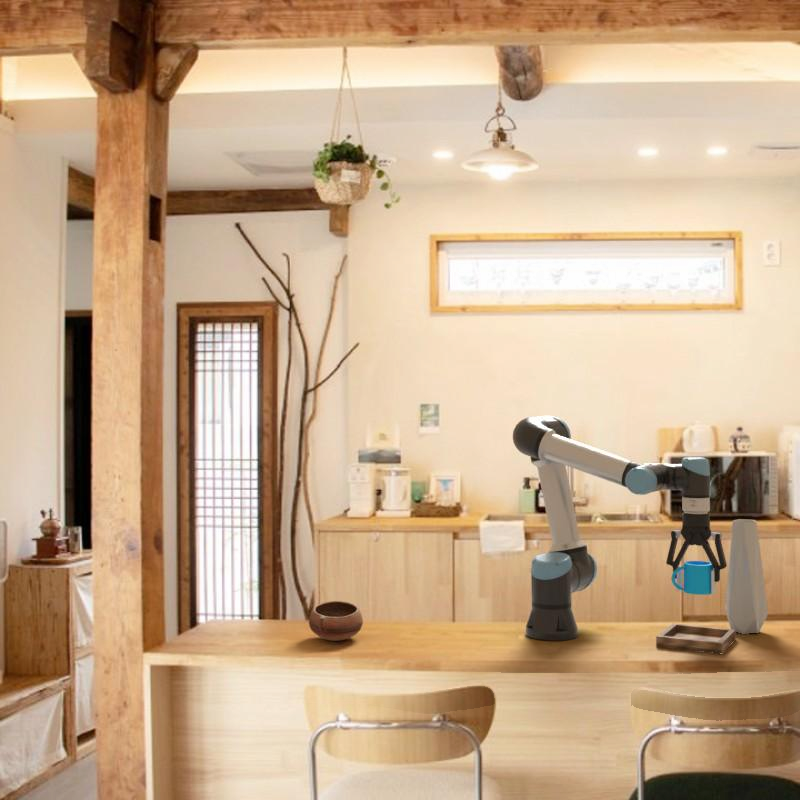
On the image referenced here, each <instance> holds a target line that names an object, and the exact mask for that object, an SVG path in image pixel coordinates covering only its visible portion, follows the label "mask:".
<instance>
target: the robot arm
mask: <svg viewBox="0 0 800 800" xmlns="http://www.w3.org/2000/svg"><path fill="white" fill-rule="evenodd" d="M571 435H572V434H571V431H570V428H569V426H568V424H567V423H566V422H565V421H564V420H562V419H561V418H560V417H556V416H552V415H542V416H529V417H525V418H524V419H522V420H519V422H517V424H515V427H514V429H513V431H512V441H513V444H514V446H515V448H516V450H518V451H519V452H520V453H521V454H522V455H525V456H528V457H530V462H531V464H532V465H534V466H535V467H536V468H537V471H538V477H539V483H540V488H541V492H542V497H543V503H544V508H545V514H546V518H547V519H546V520H547V524H548V529H549V533H550V540H551V546H550V548H549V549H548V552H546V553H545V552H544V553H540V554H538V555H536V556H534V557H533V559H532V560H531V568H530V573H531V574H530V575H531V578H530V579H531V581H530V582H531V583H530V584H531V587H530V588H531V589H530V591H531V610H530V613H529V615H528V619H527V622H526V625H525V635H526V636H527V637H529V638H530V639H531V638H532V639H534V640H535V639H536V640H540V641H542V640H543V641H558V642H559V641H567V640H573V639H576V638H577V637H578V634H579V630H578V624H577V622H576V619H575V616H574V613H573V610H572V609H573V607H572V594H573V593H576V592H581V591H583V590H585V589H587V588H588V587H589V586H590V585H592V583H594V581H595V579H596V577H597V573H598V567H597V562H596V560H595V558H594V556H593V555H591V554H590V553H589V552H588V547H587V544H586V543H585V542H584V541H583V540H581V537H580V533H579V527H578V521H577V516H576V512H575V507H574V501H573V497H572V491H571V486H570V482H569V477H568V472H567V467H570V468H572V469H574V470H577V471H580V472H584V473H586V474H589V475H591V476H594V477H598V478H600V479H603V480H605V481H607V482H611V483H613V484H616V485H619V486H621V487H624V488H627V490H629V492H630V493H632V494H635V495H640V496H642V495H648V494H650V493H651V494H652V493H654V492H659V491H660V492H661V491H681V492H682V493H681V495H682V496H681V497H682V498H681V499H682V500H681V505H682V509H681V510H682V511H683V513H681V515H682V517H681V518H682V520H681V521H682V523H681V524H682V527H681V529H680V530H677V529H674V530H672V531H671V532H670V536H671V539H670V540H671V541H670V544H669V545H670V546H669V549H668V552H667V553H668V554H667V557H666V565H668V566H671V567H672V573H673V572H674V571H675V570H676V569H677V568H679V567H680V563H681V562H682V560H683V558H684V556H685V554H686V552H687V550H688V548H689V546H695V545H696V546H699V547H700V546H702V549H703V550H704V552H705V554H706V556H707V558H708V560H709V562H711V564H712V566H713V568H714V569H713V570H712V571H711V594H710V595H715V594H716V593H717V583H719V582H720V579H721V570H724V569H725V568H727V566H728V565H727V560H726V556H725V553H724V549H723V548H724V547H723V544H722V533H721V532H715V531H713V532H712V530H711V519H710V518H711V514H710V513H709V512H710V510H711V501H710V499H711V496H710V493H711V491H710V489H711V488H710V487H711V486H710V484H711V483H710V482H711V480H710V479H711V473H710V461H709V460H708V458H705V457H699V456H697V457H695V456H694V457H693V456H692V457H691V456H687V457H683V458H682V460H681V463H660V462H659V463H658V462H646V463H643V464H641V463H639V462H635V461H632V460H630V459H627V458H623V457H621V456H619V455H615V454H613V453H610V452H607V451H605V450H603V449H599V448H597V447H592V446H591V445H587V444H584V443H581V442H579V441H576V440H573V439H571V437H572V436H571ZM681 536H682V538H683V539H684V542H683V543H682V545H681V548H680V549H679V552H678V554H677V556H676V557H675V553H676V549H677V544H678V540H679V538H680V537H681ZM711 537H712V540H713V541H714V545H715V550H716V553H717V558H718V560H717V558H716V556H715V553H714V551H713V550H712V548H711V545H710V543H709V540H710V538H711ZM674 557H675V559H674ZM682 570H683V569H682ZM682 570H680V571H679V572H677V574H676V575H675V580H676V583H677V585H679V586H680V587H682V585H683V583H682V582H683V580H682V577H683V576H682ZM682 588H683V587H682ZM676 591H677V592H680V591H681V590H680V589H678V588H676Z"/></svg>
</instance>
